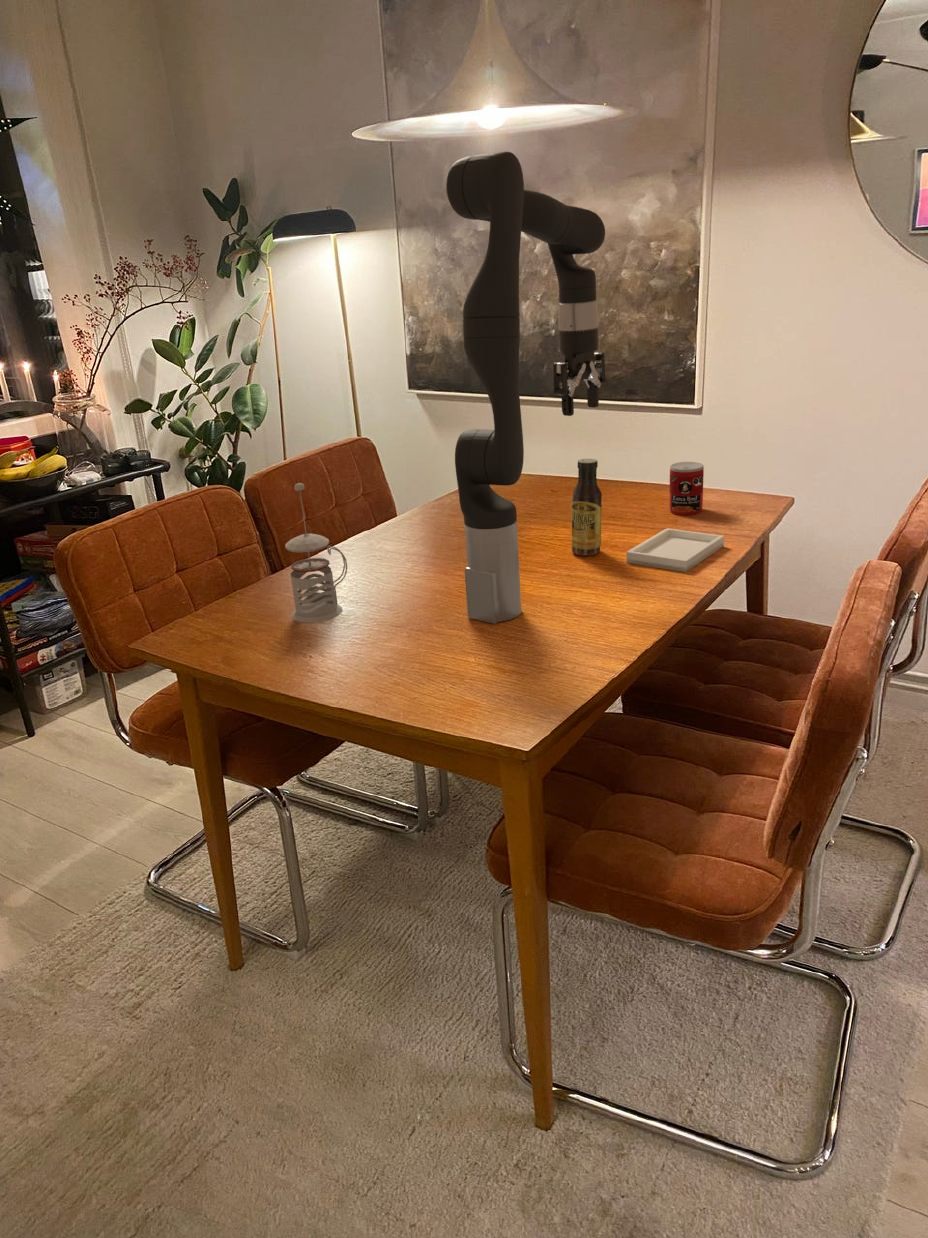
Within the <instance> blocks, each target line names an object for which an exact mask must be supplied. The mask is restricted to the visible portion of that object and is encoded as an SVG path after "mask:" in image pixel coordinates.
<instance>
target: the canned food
mask: <svg viewBox="0 0 928 1238" xmlns="http://www.w3.org/2000/svg"><path fill="white" fill-rule="evenodd" d="M704 470H705V469H704V464H703V463H701V462H698V461H697V462H696V461H681V462H680V461H679V462H675V463H672V464H670V467H669V502H668V503H669V504H668V505H669V511H670V513H671V514H673V515H677V516H693V515H698V514H700V513H701V512H702V510H703V503H704V501H703V500H704V499H703V498H704V474H705V473H704V472H705V471H704Z"/></svg>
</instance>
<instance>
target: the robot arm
mask: <svg viewBox="0 0 928 1238" xmlns="http://www.w3.org/2000/svg"><path fill="white" fill-rule="evenodd" d="M524 182H525V181H524V172H523V168H522V165H521V163H520V160H519V159H518V157H517V155H516V154H514V153H513V152H511V151H496V152H490V153H482V154H476V155H475V154H474V155H469V156H466V157H463V158H460V159H458V160H456V161H455V162H454V163H453V164H452V166H451V167H450V169H449V170H448V173H447V176H446V184H445V185H446V195H447V198H448V202H449V205H450V207H451V208H452V209H453V211H454V213H456V214H457V215H458V216H459V217H462V218H463V219H467V220H473V221H475V220H477V221H485V222H489V233H488V234H489V235H488V244H487V249H486V252H485V256H484V258H483V261H482V263H481V265H480V268H479V270H478V272H477V273H476V276H475V277H474V280H473V282H472V283H471V285H470V288H469V289H468V292H467V295H466V297H465V299H464V303H463V309H462V328H463V329H462V331H463V333H462V335H463V348H464V352H465V355H466V358H467V360H468V362H469V364H470V366H471V367H472V370H473V371H474V372H475V373H474V374H475V375H476V376H477V378H478V380H479V381H480V383H481V384H482V386H483V389H484V390H485V391H486V394H487V396H488V398H489V402H490V405H491V409H492V415H493V425H494V427H493V428H494V429H483V428H482V429H481V428H480V429H479V428H471V429H466V430H464V431H463V432H462V433H461V434H460V435H459V437H458V438H457V440H456V445H455V449H454V466H455V474H456V475H455V477H456V483H457V491H458V498H459V507H460V510H461V513H462V517H463V521H464V525H463V526H464V536H465V551H466V564H467V567H465V568H464V583H465V595H466V597H465V599H466V608H467V609H466V610H467V618H468V619H471V620H477V621H481V622H485V623H489V624H492V625H493V624H494V625H495V624H498V623H499V622H500V623H501V622H506V621H509V620H513V619H516V618H517V617H519V616H520V615H521V613H522V597H521V596H522V595H521V577H520V576H521V574H520V573H521V572H520V557H519V537H518V536H519V535H518V518H517V515H518V513H517V507H516V505H515V503H514V502H512V501H510V500H508V499H507V498H505V497H503V496H501V495H500V494H498V493H497V492H496V490H494V489H493V488H492V487H491V485H492V486H505V487H506V486H512V485H513V486H514V485H515V484H516V483H517V482H518V481H519V480H520V478H521V476H522V472H523V467H524V455H525V454H524V453H525V452H524V451H525V450H524V447H525V446H524V435H523V423H522V421H523V420H522V410H521V399H520V398H521V397H520V396H521V395H520V361H519V360H520V336H521V335H520V334H521V333H520V331H521V329H520V326H521V324H520V321H521V320H520V319H521V318H520V317H521V315H520V257H521V256H520V253H521V252H520V250H521V239H522V238H521V237H522V233H524V234H526V235H528V236H531V237H533V238H534V239H535V238H536V239H537V240H539V241H542V242H544V243H546V244H547V246H548V249H549V253H550V256H551V259H552V263H553V266H554V270H555V273H556V277H557V281H558V337H559V338H558V342H559V352H560V353H561V354H563V356H564V360H563V362H559V361H558V362H554V363H553V366H552V367H553V371H552V372H553V394H554V395H558V396H560V397H561V412H562V415H563V416H564V417H565V416H566V417H567V416H568V417H572V416H574V414H575V413H574V412H575V410H574V407H575V406H574V404H575V403H574V393H575V390H576V387H578V386H580V385H579V384H580V382H583V381H584V382H585V384H586V386H587V389H586V391H587V392H586V396H587V401H586V402H587V406H588V408H598V407H599V405H600V404H599V402H600V396H599V393H600V392H599V388H601V385H602V384H605V383H606V379H607V378H606V360H605V353H604V352H601V351H600V352H597V351H598V350H599V347H600V346H599V343H600V341H599V313H598V312H599V311H598V305H597V304H598V303H597V279H596V276H597V275H596V273H595V270H594V269H592V268H590V267H586V266H581V265H579V264H578V263H577V262H576V259H575V257H574V255H585V254H586V255H587V254H593V253H595V252H596V251H598V250H600V248H601V247H602V245H603V243H604V241H605V236H606V227H605V224H604V221H603V220H602V218H601V217H600V216H599V215H598V213H596V212H595V211H592V210H590V209H587V208H582V207H578V206H572V205H567V204H565V203H563V202H562V201H560V200H558V199H557V198H555V197H552V196H550V195H548V194H546V193H542V192H538V191H534V190H529V189H525V183H524ZM598 372H599V373H598ZM560 382H561V386H560ZM568 387H569V388H568Z"/></svg>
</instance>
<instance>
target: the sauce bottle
mask: <svg viewBox="0 0 928 1238" xmlns="http://www.w3.org/2000/svg"><path fill="white" fill-rule="evenodd" d="M598 466H599V465H598V460H597V459H596V458H581V459H578V461H577V468H578V471H577V474H578V476H577V484H576V485H575V488H574V489H573V493H572V499H571V531H570V532H571V537H570V541H571V544H570V545H571V552H572V553H573V554H575V556H582V557H583V556H584V557H591V556H595V555H597V554H599V553H600V551H601V546H602V515H603V514H602V513H603V511H602V510H603V504H602V498H603V494H602V491H601V488H600V487H599V486H598V483H597V482H598V481H597V480H598V478H597V468H598Z"/></svg>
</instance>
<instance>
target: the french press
mask: <svg viewBox="0 0 928 1238" xmlns="http://www.w3.org/2000/svg"><path fill="white" fill-rule="evenodd" d="M303 490H306V489H305V484H304V483H302V482H297V483H295V485H294V491H296V492H298V491H299V497H300V503H301V510H302V511H301V513H302V518H303V525H304V526H303V527H304V532H305V533H303V534H300V535H298V536H296V537H293V538H291V539H290V540H289V541H287V542H286V543H285V549H286V550H287V551H288V552H292V553H307V555H308V558H304V559H299V560H297V561H294V562H293V563H292V564H291V565H290V569H291V570H292V571H291V573H290V580H291V587H292V593H293V599H294V600H293V601H294V607H295V609H294V610H293V611H292V612H291V614H290V618H291V619H292V620H294V621H295V622H299V623H309V624H310V623H313V624H314V623H320V622H324V621H328V620H332V619H334V618H336V617H339V616H340V615H341V614H342V613H343V607H342V606H340V604H338V596H337V590H336V587H337V586H338V585H340V584H341V583H342V582H343V581H344V579H346V575H347V573H348V562H347V558H346V557H345V555H344V553H343V552H342V551H341V550H340V549H339V548H338V547H335V546H333V545H329V544H330V540H329V538H327V537H326V536H323V535H322V534H321V535H320V534H316V533H307V528H306V521H305V520H306V519H305V512H304V507H303V498H302V492H301V491H303ZM326 547H327V548H326ZM325 548H326V549H327V550H326V551H327V554H328V555H329V556H331V555H332V550H334V551H337V552H338V553H339V554H340V555H341V557H342V560H343V561H342V562H343V567H342V572H341V574H340V576H339V577H337V578H336V579H335V580H334V577H333V570H332V567H330V566H329V565H330V560H328V559H326V558H322V557H314V558H313V557H312V558H311V555H310V552H316V551H319V550H322V549H325ZM312 572H321V573H322V574H323V575H322V574H319V573H312ZM307 573H311V574H307ZM306 574H307V575H306ZM305 575H306V576H305ZM343 575H344V576H343ZM303 576H305V577H304V578H302V577H303ZM341 578H342V579H341ZM340 579H341V580H340ZM339 580H340V581H339ZM319 584H320V585H319ZM318 585H319V586H318ZM303 591H304V592H303ZM318 591H322V592H318ZM302 592H303V593H302ZM303 598H304V599H303Z"/></svg>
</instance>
